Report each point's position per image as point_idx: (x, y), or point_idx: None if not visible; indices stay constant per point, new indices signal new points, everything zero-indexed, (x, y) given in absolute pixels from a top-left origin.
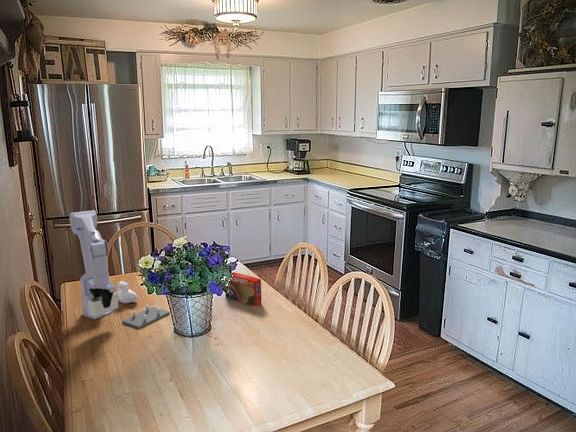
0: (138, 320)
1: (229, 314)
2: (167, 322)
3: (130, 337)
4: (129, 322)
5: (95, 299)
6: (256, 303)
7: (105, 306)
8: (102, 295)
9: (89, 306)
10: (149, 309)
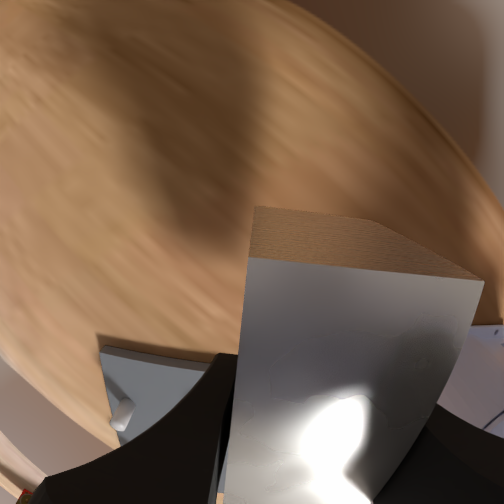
0: (162, 402)
1: (18, 463)
2: (74, 417)
3: (63, 255)
4: (183, 374)
5: (354, 380)
6: (22, 494)
7: (211, 364)
8: (106, 485)
9: (398, 243)
10: (220, 479)
